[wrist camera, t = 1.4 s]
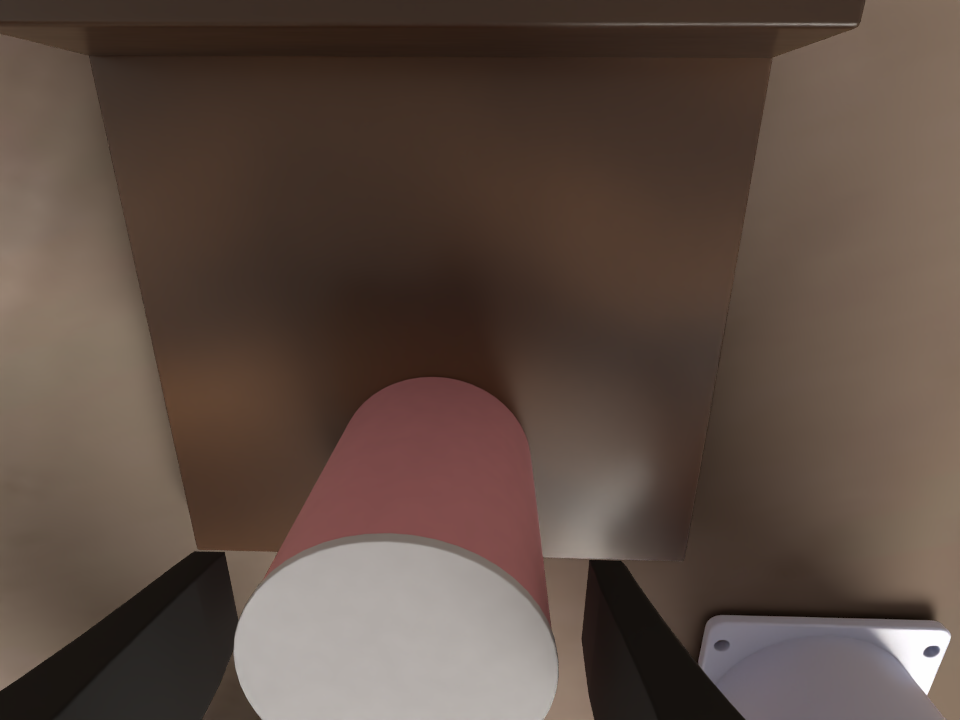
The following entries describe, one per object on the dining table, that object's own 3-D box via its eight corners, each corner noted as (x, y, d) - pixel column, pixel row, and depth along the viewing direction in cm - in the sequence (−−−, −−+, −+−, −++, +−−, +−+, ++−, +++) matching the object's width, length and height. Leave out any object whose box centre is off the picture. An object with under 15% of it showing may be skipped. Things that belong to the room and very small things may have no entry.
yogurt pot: (529, 543, 16) (550, 785, 10) (347, 539, 16) (256, 776, 10) (537, 375, 14) (569, 545, 8) (331, 371, 14) (206, 536, 8)
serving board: (672, 536, 18) (724, 646, 14) (215, 525, 18) (136, 630, 14) (761, -8, 12) (887, -86, 8) (108, -9, 13) (-68, -83, 9)
